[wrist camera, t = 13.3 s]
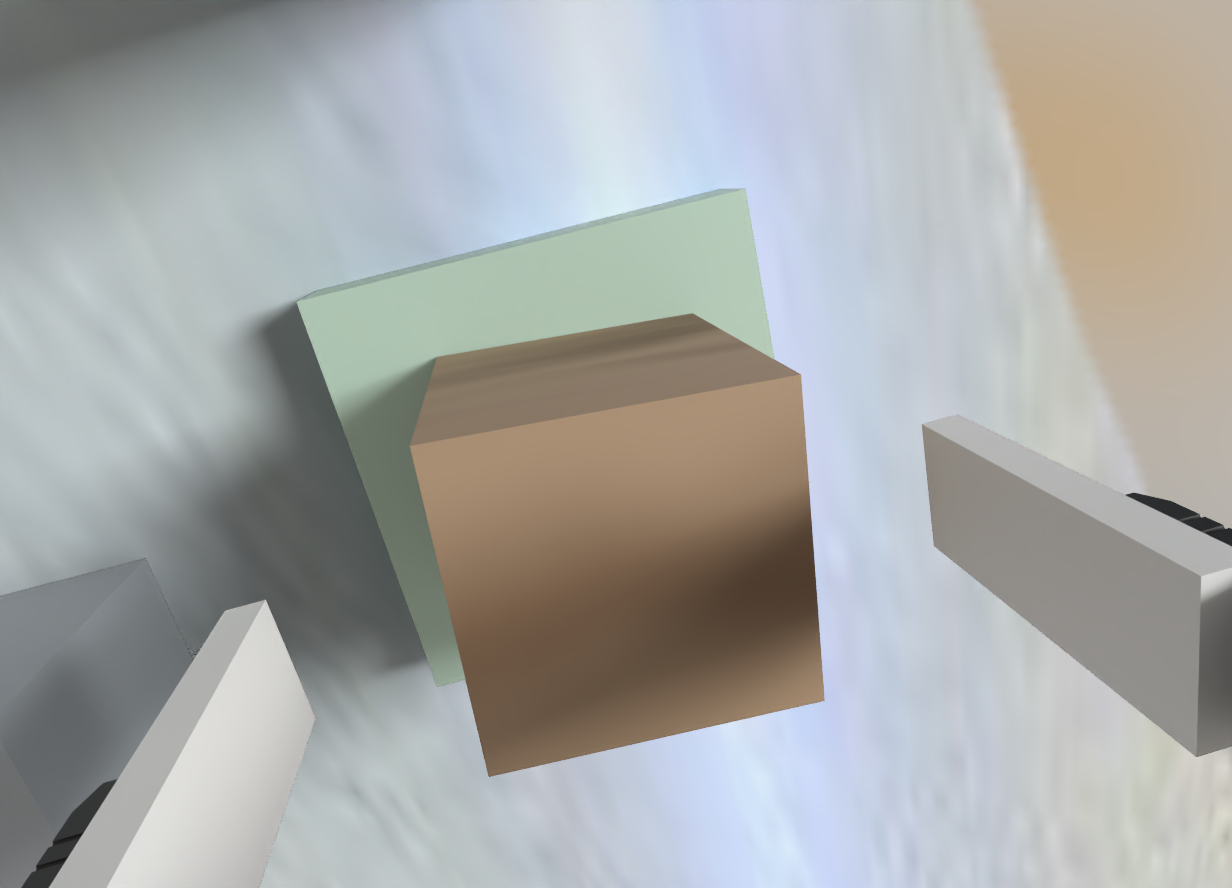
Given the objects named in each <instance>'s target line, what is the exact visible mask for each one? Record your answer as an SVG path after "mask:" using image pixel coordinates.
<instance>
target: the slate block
mask: <svg viewBox="0 0 1232 888" xmlns="http://www.w3.org/2000/svg"><path fill="white" fill-rule="evenodd" d="M192 662H193V659H192V657H191V655H190V652H189V650H188V648H187V646H186V644H185V642H184V640H183V637H182V635H181V633H180V631H179V629H178V627H177V624H176V622H175V620H174V618H173V616H172V614H171V612H170V609H169V607H168V605H167V603H166V601H165V599H164V597H163V594H162V592H161V590H160V588H159V586H158V584H157V581H156V579H155V577H154V575H153V573H152V571H151V569H150V566H149V564H148V562H147V560H146V558H144V559H140V560H137V561H133V562H129V563H125V564H121V565H117V566H113V567H110V568H106V569H102V570H98V571H94V572H90V573H87V574H83V575H79V576H75V577H71V578H67V579H63V580H60V581H56V582H52V583H48V584H44V585H40V586H36V587H33V588H29V589H25V590H21V591H17V592H13V593H9V594H6V595H2V596H0V888H21V887H22V886H23V884H24V883H25V881H26V880H27V878H28V877H29V875H30V874H31V872H34V871H36V865H37V863H38V862H39V860H40V859H41V858H42V856H43V855H44V853H45V852H46V850H47V849H48V847H52V846H53V842H52V841H53V840H54V838H55V837H56V835H57V834H58V832H59V831H60V829H61V828H62V826H63V825H64V823H65V822H66V820H67V819H68V818H69V816H70V815H71V813H72V812H73V811H74V810H75V809H76V808H77V807H78V806H79V805H80V804H81V803H82V802H83V801H84V800H86V799H87V798H88V797H89V796H90V795H91V794H92V793H93V792H94V791H95V790H96V789H97V788H98V787H99V786H100V785H101V784H103V783H105V782H108V781H112V780H115V779H118V778H119V777H120V775H121V773H122V772H123V770H124V769H125V767H126V766H127V764H128V762H129V761H130V759H131V758H132V756H133V755H134V753H135V751H136V750H137V748H138V747H139V745H140V743H141V742H142V740H143V739H144V737H145V736H146V734H147V732H148V731H149V729H150V728H151V726H152V725H153V723H154V721H155V720H156V718H157V717H158V715H159V714H160V712H161V710H162V709H163V707H164V706H165V704H166V703H167V701H168V699H169V698H170V696H171V695H172V693H173V692H174V690H175V688H176V687H177V685H178V684H179V682H180V681H181V679H182V677H183V676H184V674H185V673H186V671H187V670H188V668H189V666H190V665H191V663H192Z"/></svg>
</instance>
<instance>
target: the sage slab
mask: <svg viewBox="0 0 1232 888" xmlns="http://www.w3.org/2000/svg"><path fill="white" fill-rule="evenodd" d="M297 305H298V308H299V311H300V313H301V316H302V319H303V322H304V324H305V327H306V330H307V332H308V335H309V338H310V341H311V343H312V346H313V349H314V352H315V354H316V357H317V360H318V362H319V365H320V368H321V371H322V373H323V376H324V379H325V382H326V384H327V387H328V390H329V393H330V395H331V398H332V401H333V403H334V406H335V409H336V412H337V414H338V417H339V420H340V423H341V425H342V428H343V431H344V434H345V436H346V439H347V442H348V444H349V447H350V450H351V453H352V455H353V458H354V461H355V464H356V466H357V469H358V472H359V474H360V477H361V480H362V483H363V485H364V488H365V491H366V494H367V496H368V499H369V502H370V505H371V507H372V510H373V513H374V515H375V518H376V521H377V524H378V526H379V529H380V532H381V535H382V537H383V540H384V543H385V546H386V548H387V551H388V554H389V556H390V559H391V562H392V565H393V567H394V570H395V573H396V576H397V578H398V581H399V584H400V586H401V589H402V592H403V595H404V597H405V600H406V603H407V606H408V608H409V611H410V614H411V617H412V619H413V622H414V625H415V627H416V630H417V633H418V636H419V638H420V641H421V644H422V647H423V649H424V652H425V655H426V658H427V660H428V663H429V666H430V668H431V671H432V674H433V677H434V679H435V682H436V685H437V687H440V686H444V685H447V684H451V683H454V682H458V681H461V680H465V675H464V671H463V667H462V663H461V659H460V654H459V650H458V646H457V642H456V638H455V633H454V629H453V625H452V621H451V617H450V613H449V608H448V604H447V600H446V596H445V592H444V587H443V583H442V579H441V575H440V571H439V567H438V562H437V558H436V554H435V550H434V546H433V541H432V537H431V533H430V529H429V525H428V521H427V516H426V512H425V508H424V504H423V500H422V495H421V491H420V487H419V483H418V479H417V475H416V470H415V466H414V462H413V458H412V454H411V449H410V443H411V440H412V437H413V434H414V430H415V427H416V424H417V421H418V417H419V414H420V411H421V407H422V404H423V401H424V398H425V394H426V391H427V388H428V385H429V381H430V378H431V375H432V372H433V368H434V365H435V362H436V359H437V357H440V356H446V355H451V354H457V353H463V352H469V351H475V350H480V349H486V348H492V347H498V346H504V345H510V344H515V343H521V342H527V341H533V340H539V339H544V338H550V337H556V336H562V335H568V334H574V333H579V332H585V331H591V330H597V329H603V328H609V327H614V326H620V325H626V324H632V323H638V322H643V321H649V320H655V319H661V318H667V317H673V316H679V315H685V314H691V313H693V314H695V315H697V316H698V317H700V318H702V319H704V320H705V321H707V322H709V323H711V324H712V325H714V326H716V327H718V328H719V329H721V330H723V331H725V332H727V333H728V334H730V335H732V336H734V337H735V338H737V339H739V340H741V341H742V342H744V343H746V344H748V345H749V346H751V347H753V348H755V349H757V350H758V351H760V352H762V353H764V354H765V355H767V356H769V357H771V358H772V359H774V354H773V348H772V342H771V336H770V330H769V324H768V319H767V313H766V307H765V301H764V295H763V289H762V283H761V277H760V272H759V266H758V260H757V254H756V248H755V242H754V236H753V230H752V225H751V219H750V213H749V207H748V201H747V195H746V189H718V190H714V191H710V192H706V193H702V194H698V195H694V196H690V197H686V198H682V199H678V200H674V201H670V202H666V203H662V204H658V205H654V206H651V207H647V208H643V209H639V210H635V211H631V212H627V213H623V214H619V215H615V216H611V217H607V218H603V219H599V220H595V221H591V222H587V223H583V224H579V225H575V226H571V227H567V228H563V229H559V230H555V231H551V232H547V233H543V234H539V235H535V236H531V237H527V238H523V239H519V240H515V241H511V242H507V243H504V244H500V245H496V246H492V247H488V248H484V249H480V250H476V251H472V252H468V253H464V254H460V255H456V256H452V257H448V258H444V259H440V260H436V261H432V262H428V263H424V264H420V265H416V266H412V267H408V268H404V269H400V270H396V271H392V272H388V273H384V274H380V275H376V276H372V277H368V278H364V279H360V280H356V281H353V282H349V283H345V284H341V285H337V286H333V287H329V288H325V289H321V290H317V291H315V292H313V293H311V294H309V295H308V296H306V297H304V298H302V299H300V300H299V301H297Z"/></svg>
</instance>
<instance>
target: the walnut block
mask: <svg viewBox="0 0 1232 888" xmlns="http://www.w3.org/2000/svg"><path fill="white" fill-rule="evenodd" d="M410 449H411V454H412V458H413V462H414V466H415V470H416V475H417V479H418V483H419V487H420V491H421V495H422V500H423V504H424V508H425V512H426V516H427V521H428V525H429V529H430V533H431V537H432V541H433V546H434V550H435V554H436V558H437V562H438V567H439V571H440V575H441V579H442V583H443V587H444V592H445V596H446V600H447V604H448V608H449V613H450V617H451V621H452V625H453V629H454V633H455V638H456V642H457V646H458V650H459V654H460V659H461V663H462V667H463V671H464V675H465V680H466V684H467V688H468V692H469V696H470V700H471V705H472V709H473V713H474V717H475V721H476V726H477V730H478V734H479V738H480V742H481V746H482V751H483V755H484V759H485V763H486V767H487V772H488V776H489V777H491V776H495V775H499V774H504V773H508V772H513V771H517V770H521V769H526V768H530V767H535V766H539V765H543V764H548V763H552V762H557V761H561V760H565V759H570V758H574V757H579V756H583V755H587V754H592V753H596V752H601V751H605V750H609V749H614V748H618V747H623V746H627V745H632V744H636V743H640V742H645V741H649V740H654V739H658V738H662V737H667V736H671V735H676V734H680V733H684V732H689V731H693V730H698V729H702V728H706V727H711V726H715V725H720V724H724V723H728V722H733V721H737V720H742V719H746V718H750V717H755V716H759V715H764V714H768V713H772V712H777V711H781V710H786V709H790V708H794V707H799V706H803V705H808V704H812V703H817V702H821V701H824V688H823V674H822V660H821V646H820V633H819V619H818V605H817V591H816V577H815V564H814V550H813V536H812V522H811V508H810V494H809V481H808V467H807V453H806V439H805V425H804V412H803V398H802V384H801V374H799V373H797V372H795V371H794V370H792V369H790V368H788V367H787V366H785V365H783V364H781V363H779V362H778V361H776V360H774V359H772V358H771V357H769V356H767V355H765V354H764V353H762V352H760V351H758V350H757V349H755V348H753V347H751V346H749V345H748V344H746V343H744V342H742V341H741V340H739V339H737V338H735V337H734V336H732V335H730V334H728V333H727V332H725V331H723V330H721V329H719V328H718V327H716V326H714V325H712V324H711V323H709V322H707V321H705V320H704V319H702V318H700V317H698V316H697V315H695V314H693V313H691V314H685V315H679V316H673V317H667V318H661V319H655V320H649V321H643V322H638V323H632V324H626V325H620V326H614V327H609V328H603V329H597V330H591V331H585V332H579V333H574V334H568V335H562V336H556V337H550V338H544V339H539V340H533V341H527V342H521V343H515V344H510V345H504V346H498V347H492V348H486V349H480V350H475V351H469V352H463V353H457V354H451V355H446V356H440V357H437V359H436V362H435V365H434V368H433V372H432V375H431V378H430V381H429V385H428V388H427V391H426V394H425V398H424V401H423V404H422V407H421V411H420V414H419V417H418V421H417V424H416V427H415V430H414V434H413V437H412V440H411V443H410Z"/></svg>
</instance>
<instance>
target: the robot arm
mask: <svg viewBox="0 0 1232 888" xmlns="http://www.w3.org/2000/svg"><path fill="white" fill-rule="evenodd" d="M922 430H923V440H924V450H925V460H926V471H927V481H928V491H929V501H930V511H931V521H932V531H933V541H934V546H935V547H936V548H937V549H939V550H940V551H941V552H942V553H944V554H945V555H946V556H947V557H949V558H950V559H951V560H952V561H953V562H955V563H956V564H957V565H958V566H960V567H961V568H962V569H963V570H965V571H966V572H967V573H968V574H970V575H971V576H972V577H973V578H975V579H976V580H977V581H978V582H980V583H981V584H982V585H983V586H985V587H986V588H987V589H988V590H990V591H991V592H992V593H993V594H994V595H996V596H997V597H998V598H999V599H1001V600H1002V601H1003V602H1004V603H1006V604H1007V605H1008V606H1009V607H1011V608H1012V609H1013V610H1014V611H1016V612H1017V613H1018V614H1019V615H1021V616H1022V617H1023V618H1024V619H1026V620H1027V621H1028V622H1029V623H1031V624H1032V625H1033V626H1034V627H1035V628H1037V629H1038V630H1039V631H1040V632H1042V633H1043V634H1044V635H1045V636H1047V637H1048V638H1049V639H1050V640H1052V641H1053V642H1054V643H1055V644H1057V645H1058V646H1059V647H1060V648H1062V649H1063V650H1064V651H1065V652H1067V653H1068V654H1069V655H1070V656H1072V657H1073V658H1074V659H1075V660H1076V661H1078V662H1079V663H1080V664H1081V665H1083V666H1084V667H1085V668H1086V669H1088V670H1089V671H1090V672H1091V673H1093V674H1094V675H1095V676H1096V677H1098V678H1099V679H1100V680H1101V681H1103V682H1104V683H1105V684H1106V685H1108V686H1109V687H1110V688H1111V689H1113V690H1114V691H1115V692H1116V693H1117V694H1119V695H1120V696H1121V697H1122V698H1124V699H1125V700H1126V701H1127V702H1129V703H1130V704H1131V705H1132V706H1134V707H1135V708H1136V709H1137V710H1139V711H1140V712H1141V713H1142V714H1144V715H1145V716H1146V717H1147V718H1149V719H1150V720H1151V721H1152V722H1154V723H1155V724H1156V725H1157V726H1158V727H1160V728H1161V729H1162V730H1163V731H1165V732H1166V733H1167V734H1168V735H1170V736H1171V737H1172V738H1173V739H1175V740H1176V741H1177V742H1178V743H1180V744H1181V745H1182V746H1183V747H1185V748H1186V749H1187V750H1188V751H1190V752H1191V753H1192V754H1193V755H1195V756H1196V757H1199V756H1202V755H1205V754H1208V753H1212V752H1215V751H1218V750H1222V749H1225V748H1228V747H1231V746H1232V529H1231V528H1228V529H1225V528H1224V526H1223V525H1222V524H1220V523H1217V522H1215V521H1213V520H1211V519H1209V518H1206V517H1203V518H1201V517H1200V515H1199V514H1198V513H1196V512H1194V511H1191V510H1189V509H1187V508H1185V507H1183V506H1180V505H1178V504H1176V503H1174V502H1172V501H1168V500H1164V499H1160V498H1155V497H1151V496H1146V495H1142V494H1138V493H1131V494H1127V495H1124V494H1122V493H1120V492H1117V491H1115V490H1113V489H1111V488H1109V487H1107V486H1105V485H1103V484H1101V483H1099V482H1097V481H1095V480H1093V479H1091V478H1088V477H1086V476H1084V475H1082V474H1080V473H1078V472H1076V471H1074V470H1072V469H1070V468H1068V467H1066V466H1064V465H1061V464H1059V463H1057V462H1055V461H1053V460H1051V459H1049V458H1047V457H1045V456H1043V455H1041V454H1039V453H1037V452H1034V451H1032V450H1030V449H1028V448H1026V447H1024V446H1022V445H1020V444H1018V443H1016V442H1014V441H1012V440H1010V439H1007V438H1005V437H1003V436H1001V435H999V434H997V433H995V432H993V431H991V430H989V429H987V428H985V427H983V426H981V425H978V424H976V423H974V422H972V421H970V420H968V419H966V418H964V417H962V416H960V415H954V416H951V417H947V418H943V419H940V420H936V421H932V422H928V423H925V424H922ZM315 719H316V718H315V715H314V713H313V711H312V708H311V706H310V704H309V701H308V699H307V696H306V694H305V692H304V689H303V687H302V685H301V682H300V680H299V677H298V675H297V673H296V670H295V668H294V666H293V663H292V661H291V658H290V656H289V654H288V651H287V649H286V647H285V644H284V642H283V639H282V637H281V635H280V632H279V630H278V628H277V625H276V623H275V620H274V618H273V616H272V613H271V611H270V609H269V606H268V604H267V602H266V600H263V601H259V602H255V603H251V604H248V605H244V606H240V607H236V608H233V609H229V610H225V611H224V613H223V614H222V616H221V618H220V619H219V621H218V622H217V624H216V625H215V627H214V629H213V630H212V632H211V633H210V635H209V636H208V638H207V640H206V641H205V643H204V644H203V646H202V647H201V649H200V651H199V652H198V654H197V655H196V657H195V658H194V660H193V662H192V663H191V665H190V666H189V668H188V670H187V671H186V673H185V674H184V676H183V677H182V679H181V681H180V682H179V684H178V685H177V687H176V688H175V690H174V692H173V693H172V695H171V696H170V698H169V699H168V701H167V703H166V704H165V706H164V707H163V709H162V710H161V712H160V714H159V715H158V717H157V718H156V720H155V721H154V723H153V725H152V726H151V728H150V729H149V731H148V732H147V734H146V736H145V737H144V739H143V740H142V742H141V743H140V745H139V747H138V748H137V750H136V751H135V753H134V755H133V756H132V758H131V759H130V761H129V762H128V764H127V766H126V767H125V769H124V770H123V772H122V773H121V775H120V777H119V778H118V779H115V780H112V781H108V782H105V783H103V784H101V785H100V786H99V787H98V788H97V789H96V790H95V791H94V792H93V793H92V794H91V795H90V796H89V797H88V798H87V799H86V800H84V801H83V802H82V803H81V804H80V805H79V806H78V807H77V808H76V809H75V810H74V811H73V812H72V813H71V815H70V816H69V818H68V819H67V820H66V822H65V823H64V825H63V826H62V828H61V829H60V831H59V832H58V834H57V835H56V837H55V838H54V840H53V841H52V842H53V846H52V847H48V849H47V850H46V852H45V853H44V855H43V856H42V858H41V859H40V860H39V862H38V863H37V865H36V871H34V872H31V874H30V875H29V877H28V878H27V880H26V881H25V883H24V884H23V886H22V887H21V888H259V887H260V884H261V881H262V878H263V875H264V872H265V869H266V866H267V863H268V860H269V857H270V854H271V851H272V848H273V845H274V842H275V839H276V836H277V833H278V830H279V827H280V824H281V821H282V818H283V815H284V812H285V809H286V806H287V803H288V800H289V797H290V794H291V791H292V788H293V785H294V782H295V779H296V776H297V773H298V770H299V767H300V764H301V761H302V758H303V755H304V752H305V749H306V746H307V743H308V740H309V737H310V734H311V731H312V728H313V725H314V722H315Z"/></svg>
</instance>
